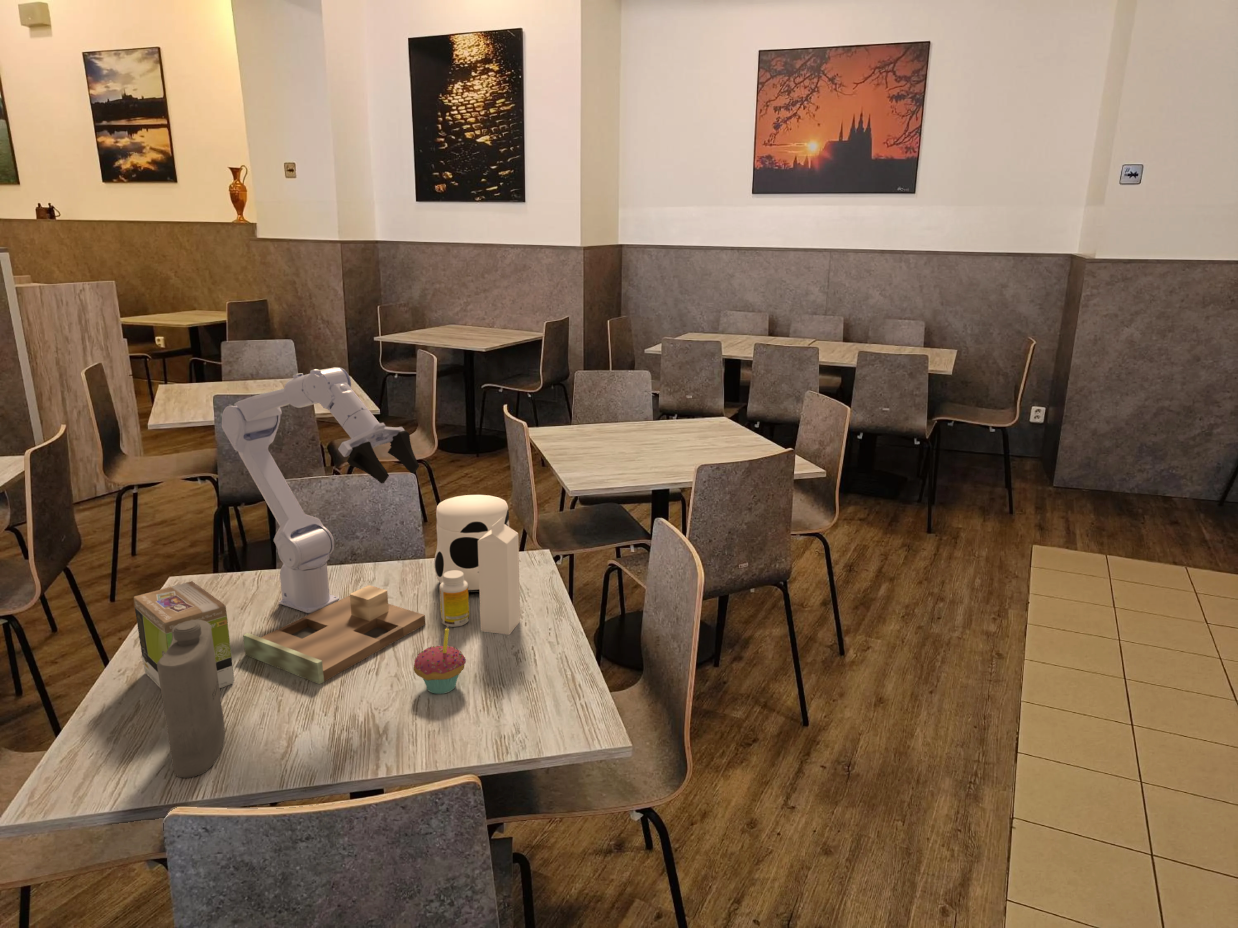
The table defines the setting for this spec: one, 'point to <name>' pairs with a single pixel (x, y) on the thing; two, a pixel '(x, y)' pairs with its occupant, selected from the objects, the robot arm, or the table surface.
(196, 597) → the tea box
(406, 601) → the table surface
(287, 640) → the wooden board with holes
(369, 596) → the block
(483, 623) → the milk
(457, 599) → the supplement bottle
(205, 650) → the flask
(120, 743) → the table surface
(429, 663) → the cupcake
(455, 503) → the milk container
